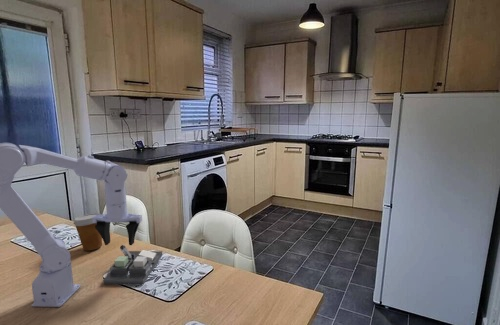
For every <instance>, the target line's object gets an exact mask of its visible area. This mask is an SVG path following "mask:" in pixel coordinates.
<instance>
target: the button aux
mask: <svg viewBox="0 0 500 325" xmlns="http://www.w3.org/2000/svg"><path fill="white" fill-rule="evenodd" d="M133 262H134V267H144V266H145V264H146V263H147V257H144V256H137V257H136V259H135V260H134V261H133Z"/></svg>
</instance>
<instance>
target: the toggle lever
mask: <svg viewBox="0 0 500 325" xmlns="http://www.w3.org/2000/svg"><path fill="white" fill-rule="evenodd" d="M119 249H120V251H121V252H122V254H123V256H128V257H132V255H131V254H130V253H129V251H130V250H128V248H127V247H126V245H124V244H121V245H120V247H119Z"/></svg>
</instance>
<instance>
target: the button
mask: <svg viewBox="0 0 500 325" xmlns="http://www.w3.org/2000/svg"><path fill="white" fill-rule="evenodd" d="M114 263H115V267H125V266H126V264H127V263H128V256H125V255H123V256H122V255H121V256H120V255H119V256H118V257H117V258H115V259H114ZM114 263H113V264H114Z"/></svg>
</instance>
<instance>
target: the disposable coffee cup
mask: <svg viewBox="0 0 500 325" xmlns="http://www.w3.org/2000/svg"><path fill="white" fill-rule="evenodd" d="M95 215H102V214H101V213H100V212H93V213H88V214H83V215H80V216H77V217H75V218H74V220H73V225H74V226H75V229H76V232H77V235H78V238H79V240H80V242H81V246H82V249H83V251H93V250H96V249H99V248H101V247H102V246H103V239H102V237H101V235H100V233H99V232H98V231H97V230H96V229H95V225H97V223H93V217H94V216H95Z"/></svg>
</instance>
